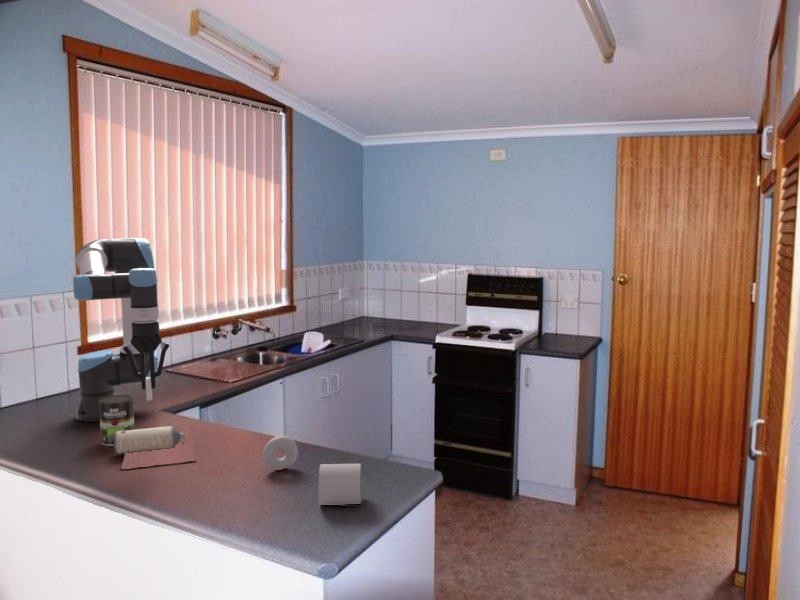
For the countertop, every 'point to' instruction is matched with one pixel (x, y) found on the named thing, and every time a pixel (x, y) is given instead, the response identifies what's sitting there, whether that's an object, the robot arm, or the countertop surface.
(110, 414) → the coffee can
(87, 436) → the countertop surface
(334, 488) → the toilet paper
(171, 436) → the aerosol can
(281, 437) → the donut
